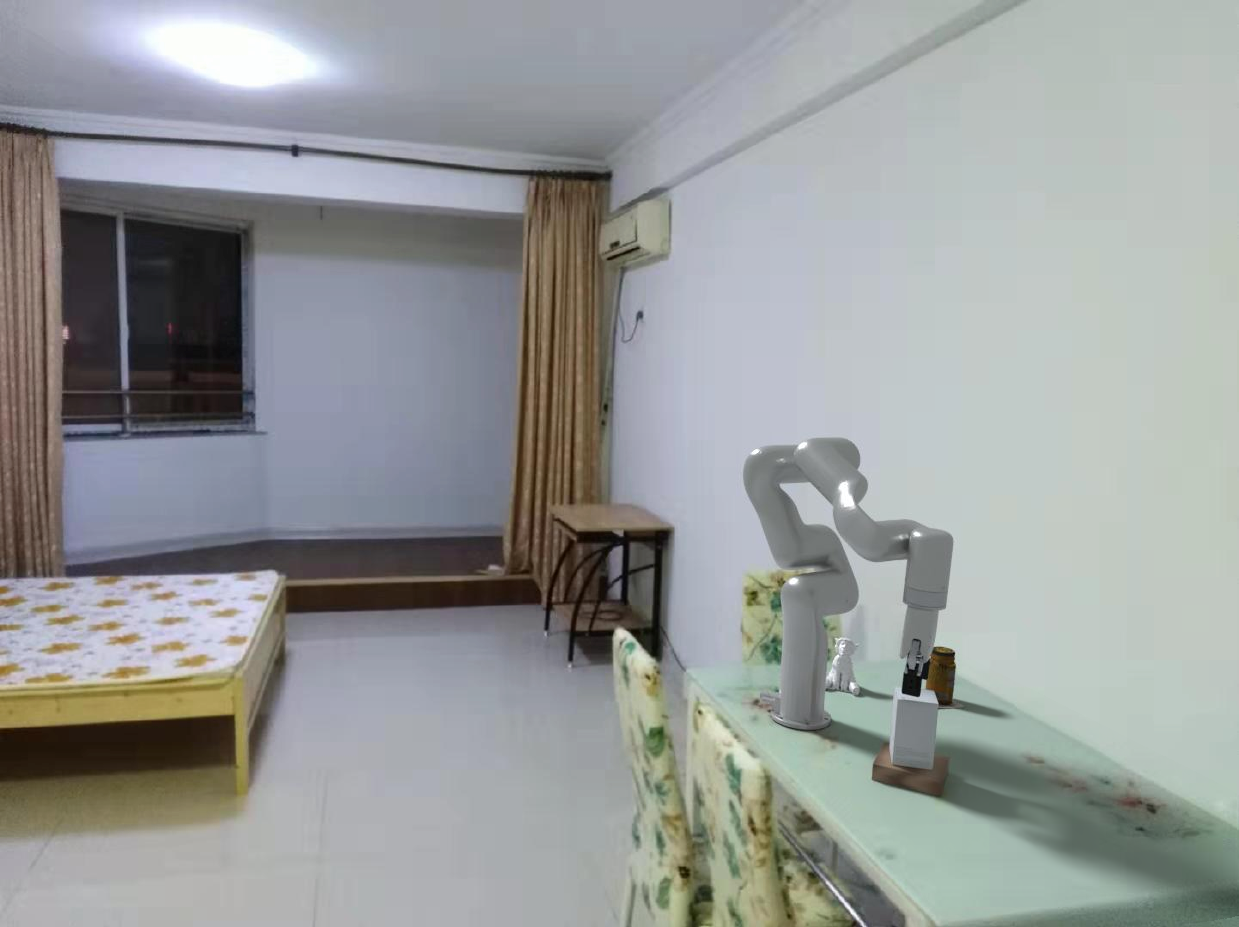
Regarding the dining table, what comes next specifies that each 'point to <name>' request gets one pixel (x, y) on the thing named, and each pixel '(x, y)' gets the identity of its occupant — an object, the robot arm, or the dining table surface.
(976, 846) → the dining table surface
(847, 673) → the sitting furry creature
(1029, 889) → the dining table surface
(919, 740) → the supplement box
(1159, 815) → the dining table surface
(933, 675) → the condiment
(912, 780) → the walnut base
